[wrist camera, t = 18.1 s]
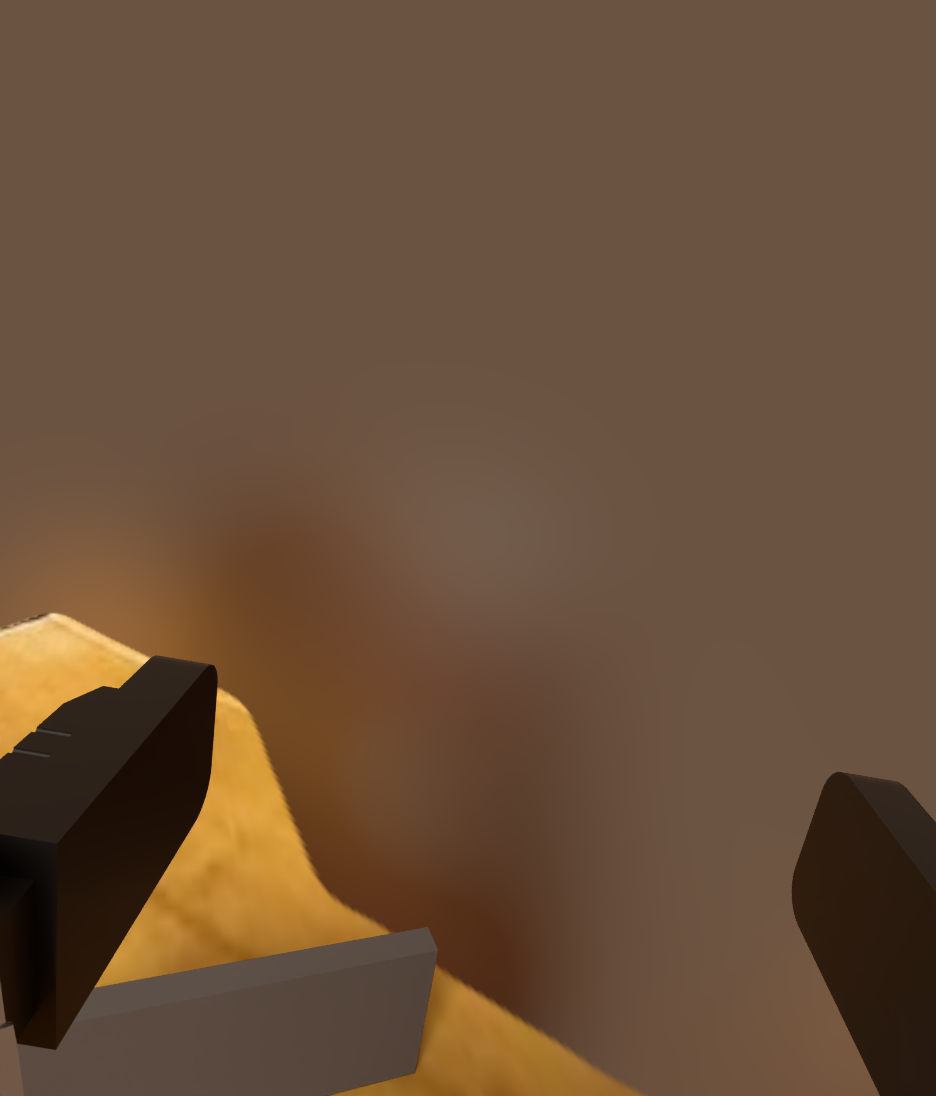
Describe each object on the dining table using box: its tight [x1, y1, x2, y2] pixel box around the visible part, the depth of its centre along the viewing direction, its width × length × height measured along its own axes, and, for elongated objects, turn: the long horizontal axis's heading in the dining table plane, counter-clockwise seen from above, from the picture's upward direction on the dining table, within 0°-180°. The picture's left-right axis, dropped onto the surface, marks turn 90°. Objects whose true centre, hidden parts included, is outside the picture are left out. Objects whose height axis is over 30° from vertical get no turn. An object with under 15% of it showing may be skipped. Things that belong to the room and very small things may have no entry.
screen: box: [17, 927, 438, 1096], centre depth 35 cm, size 20×2×8 cm, turn 112°
